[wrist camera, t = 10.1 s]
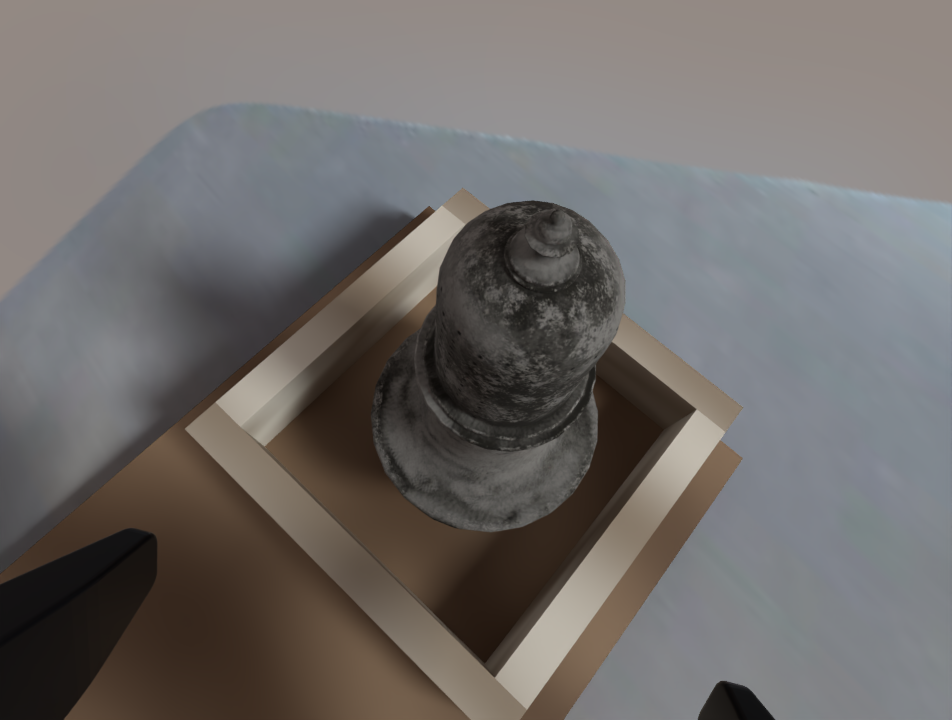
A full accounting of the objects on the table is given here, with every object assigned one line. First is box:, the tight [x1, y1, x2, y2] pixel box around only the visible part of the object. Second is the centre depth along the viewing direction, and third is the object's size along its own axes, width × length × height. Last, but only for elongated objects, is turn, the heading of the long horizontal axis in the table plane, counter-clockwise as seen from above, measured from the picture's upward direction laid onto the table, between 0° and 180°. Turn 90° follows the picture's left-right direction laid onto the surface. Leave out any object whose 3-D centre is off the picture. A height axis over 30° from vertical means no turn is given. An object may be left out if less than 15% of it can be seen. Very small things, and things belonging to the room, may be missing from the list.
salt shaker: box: [371, 201, 625, 532], centre depth 12 cm, size 6×6×12 cm
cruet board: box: [0, 188, 743, 720], centre depth 16 cm, size 18×14×4 cm
